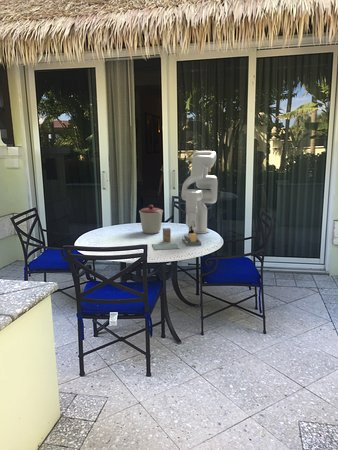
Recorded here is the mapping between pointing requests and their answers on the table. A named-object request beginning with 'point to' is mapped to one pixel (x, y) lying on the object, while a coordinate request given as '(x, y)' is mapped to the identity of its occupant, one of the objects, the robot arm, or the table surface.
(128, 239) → the table surface
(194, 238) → the tan orange cube block
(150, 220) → the canister
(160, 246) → the tool mat
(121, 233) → the table surface
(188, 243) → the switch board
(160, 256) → the table surface
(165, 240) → the brown rectangular block
